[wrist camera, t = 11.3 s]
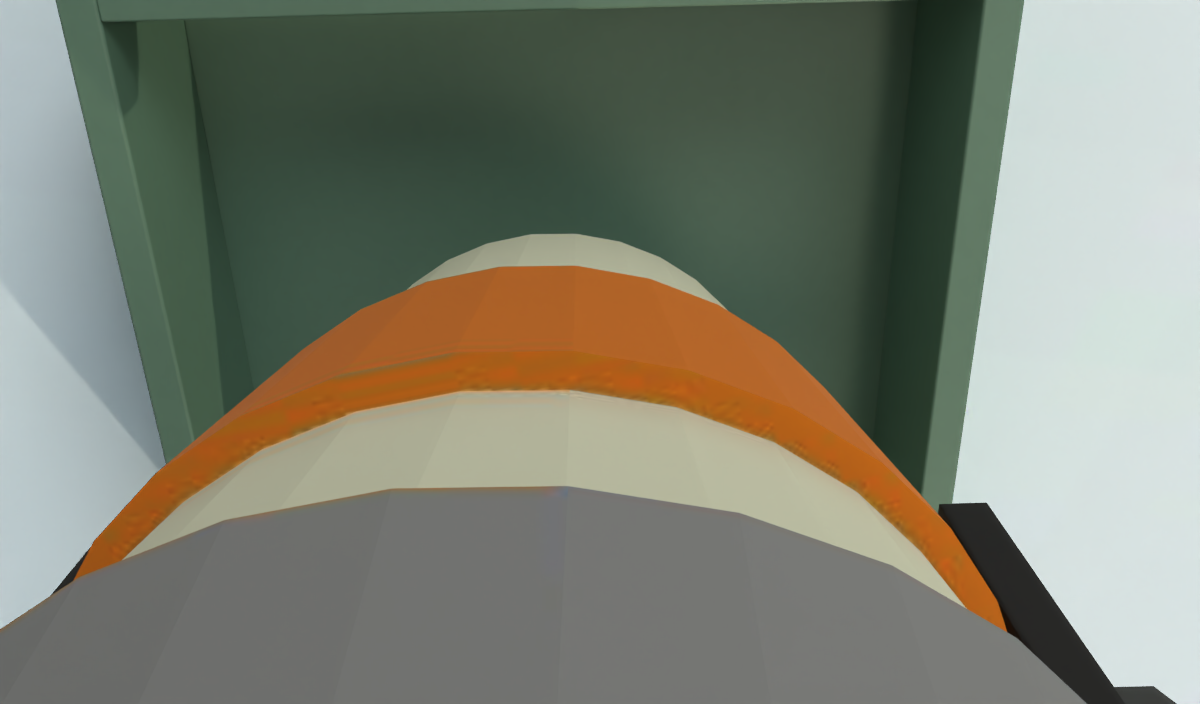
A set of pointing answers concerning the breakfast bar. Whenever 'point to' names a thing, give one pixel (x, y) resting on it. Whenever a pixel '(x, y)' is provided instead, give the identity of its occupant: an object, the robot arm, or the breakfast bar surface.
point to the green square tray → (555, 174)
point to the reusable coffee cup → (529, 522)
